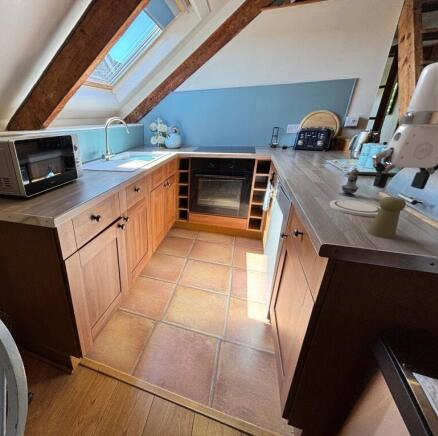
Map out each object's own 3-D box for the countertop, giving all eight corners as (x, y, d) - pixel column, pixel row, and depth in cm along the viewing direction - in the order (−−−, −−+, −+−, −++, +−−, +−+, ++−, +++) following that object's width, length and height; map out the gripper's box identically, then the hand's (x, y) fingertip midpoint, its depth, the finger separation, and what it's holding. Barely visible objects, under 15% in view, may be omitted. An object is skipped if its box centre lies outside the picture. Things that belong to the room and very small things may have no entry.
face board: (350, 200, 100) (351, 197, 99) (396, 213, 86) (397, 210, 85) (319, 204, 96) (320, 201, 96) (361, 218, 82) (362, 215, 82)
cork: (368, 227, 76) (381, 193, 71) (395, 233, 72) (410, 197, 67) (366, 233, 72) (379, 198, 68) (394, 240, 68) (409, 203, 64)
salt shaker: (344, 196, 104) (352, 168, 100) (336, 192, 110) (344, 166, 105) (359, 197, 103) (368, 169, 99) (351, 193, 109) (359, 166, 104)
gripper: (399, 120, 57) (373, 190, 64) (481, 120, 56) (446, 192, 62) (375, 120, 64) (354, 183, 71) (447, 120, 62) (419, 184, 69)
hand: (397, 187), depth 66 cm, fingers open, 9 cm apart
